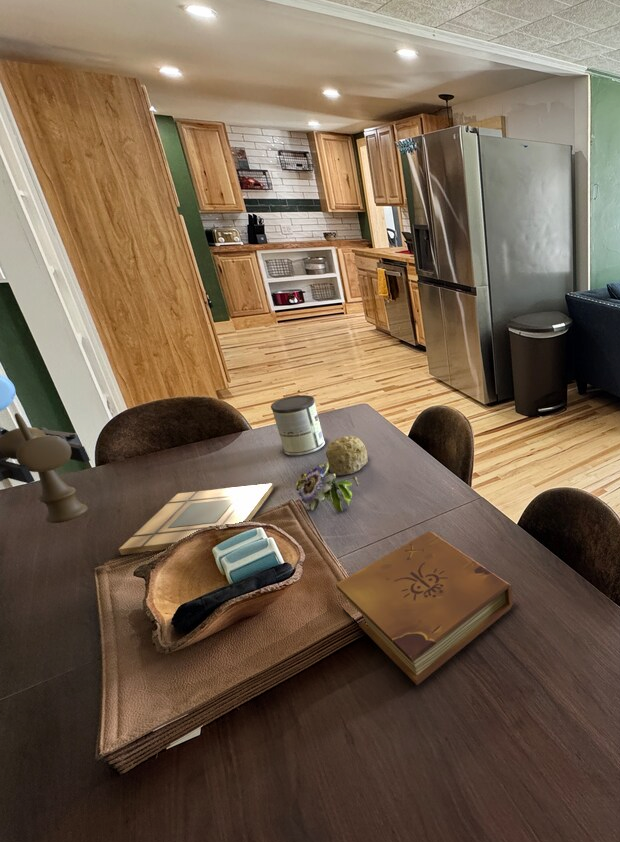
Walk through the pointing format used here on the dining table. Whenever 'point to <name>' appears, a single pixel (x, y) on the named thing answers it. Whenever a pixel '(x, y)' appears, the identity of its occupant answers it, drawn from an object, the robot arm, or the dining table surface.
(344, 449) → the rock
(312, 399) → the coffee can
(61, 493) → the kendama
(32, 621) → the dining table surface
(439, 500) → the dining table surface
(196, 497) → the board
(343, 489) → the passion flower
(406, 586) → the diary
